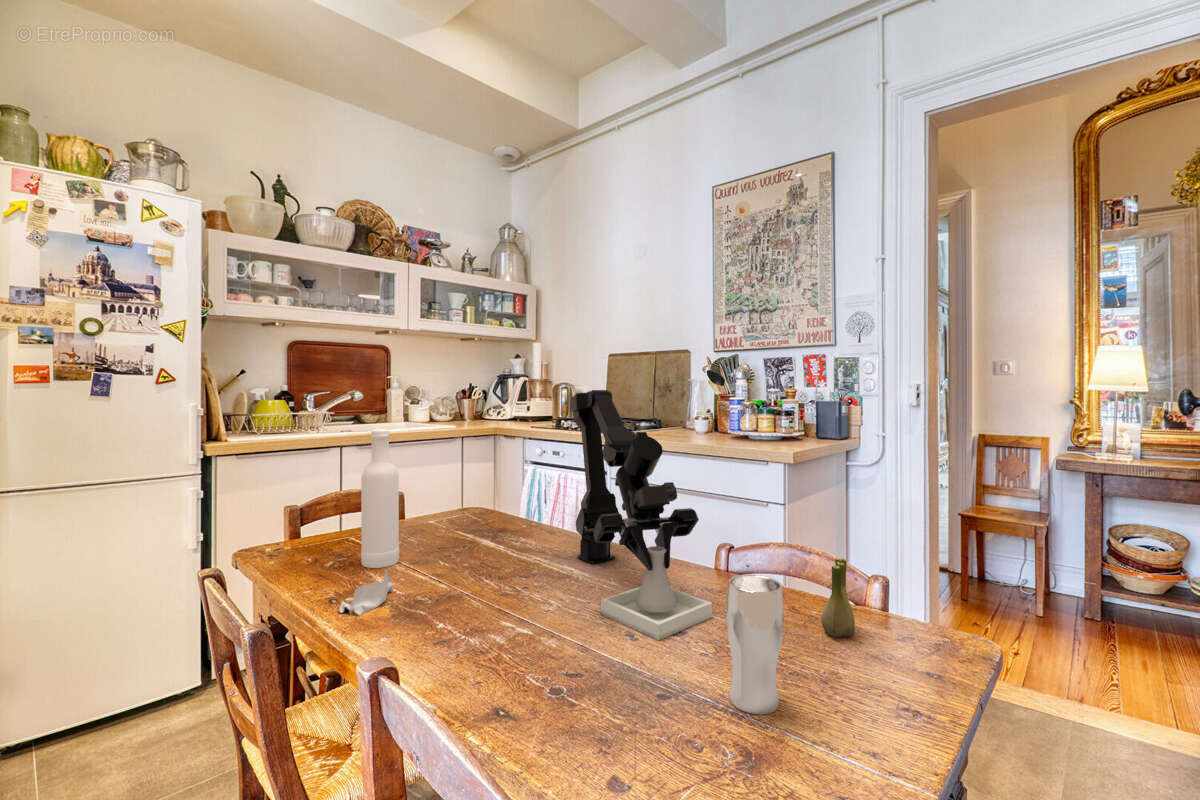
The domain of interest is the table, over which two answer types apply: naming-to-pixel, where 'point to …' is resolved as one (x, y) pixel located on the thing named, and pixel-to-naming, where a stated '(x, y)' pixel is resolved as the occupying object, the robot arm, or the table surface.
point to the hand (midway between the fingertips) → (659, 568)
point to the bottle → (380, 506)
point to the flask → (656, 585)
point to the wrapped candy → (368, 596)
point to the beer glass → (754, 641)
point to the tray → (656, 613)
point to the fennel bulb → (838, 605)
